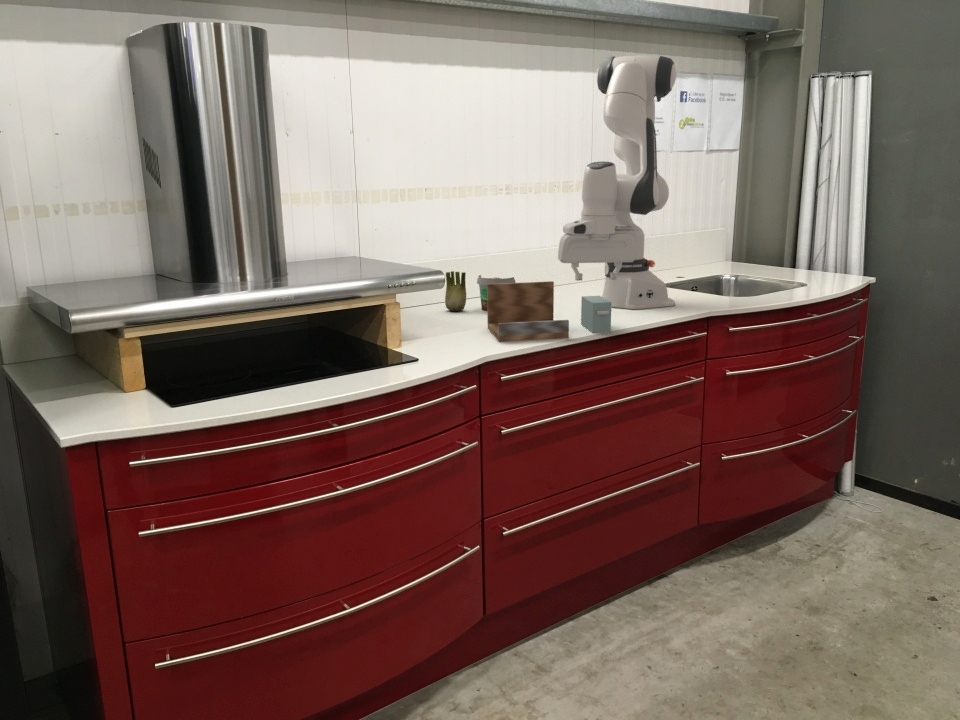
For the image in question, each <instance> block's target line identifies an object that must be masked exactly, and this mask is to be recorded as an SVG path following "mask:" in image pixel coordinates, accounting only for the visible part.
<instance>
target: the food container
mask: <svg viewBox="0 0 960 720" xmlns="http://www.w3.org/2000/svg"><path fill="white" fill-rule="evenodd" d="M500 283H517V282H516V279H515V277H514V276H513V277H506V278H501V277H491V278H490V277H489V278H488V277H487V278H486V277H482V275H481V274H479V275H478V277H477V279H476V284H477V285H478V287H479V296H480V307H481V310H482V311H484V312H487V284H500Z"/></svg>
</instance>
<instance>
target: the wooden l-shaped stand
mask: <svg viewBox="0 0 960 720" xmlns="http://www.w3.org/2000/svg"><path fill="white" fill-rule="evenodd" d="M554 289H555V282H554V281H530V282H516V283H500V284H487V311H486V312H487V330H488V331H489V332H490V333H491V334H492V335H493V336H494V337H495V338H496V340H497V341H498V342H499V343H500V342H515V341H534V340H554V339H569V336H570V333H569V332H570V321H569V319H557V320H556V319H555V320H554V303H555V301H554V298H555V297H554V295H555V293H554V292H555V291H554Z"/></svg>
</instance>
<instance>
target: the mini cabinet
mask: <svg viewBox="0 0 960 720" xmlns="http://www.w3.org/2000/svg"><path fill="white" fill-rule="evenodd" d="M611 303H612V302H610V301H608V300H606V299H605V298H603V297H602V296H601V295H587V296H585V295H583V296H581V305H580V307H581V308H580V310H581V311H580V313H581V314H580V316H581V317H580V326H581V325H582V326H581V327H583V328H584V327H585V328H584V329H586V330H587V329H588V330H587V331H589V333H591V332H592V333H591V334H598V333H599V334H602V333H611V331H612V307H611Z"/></svg>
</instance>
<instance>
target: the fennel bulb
mask: <svg viewBox="0 0 960 720" xmlns="http://www.w3.org/2000/svg"><path fill="white" fill-rule="evenodd" d="M460 275H461V277H460ZM466 275H467V274H466V272H465V271H462V272H461V274H460V271H454V270H452V271H448V272H447V271H446V272H445V279H446V288H445V295H444V296H445V297H444V300H445V301H444V302H445V307H446V309H447V310H448V311H451V312H461V311H464V309H465V306H466V304H467V288H466Z"/></svg>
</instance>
